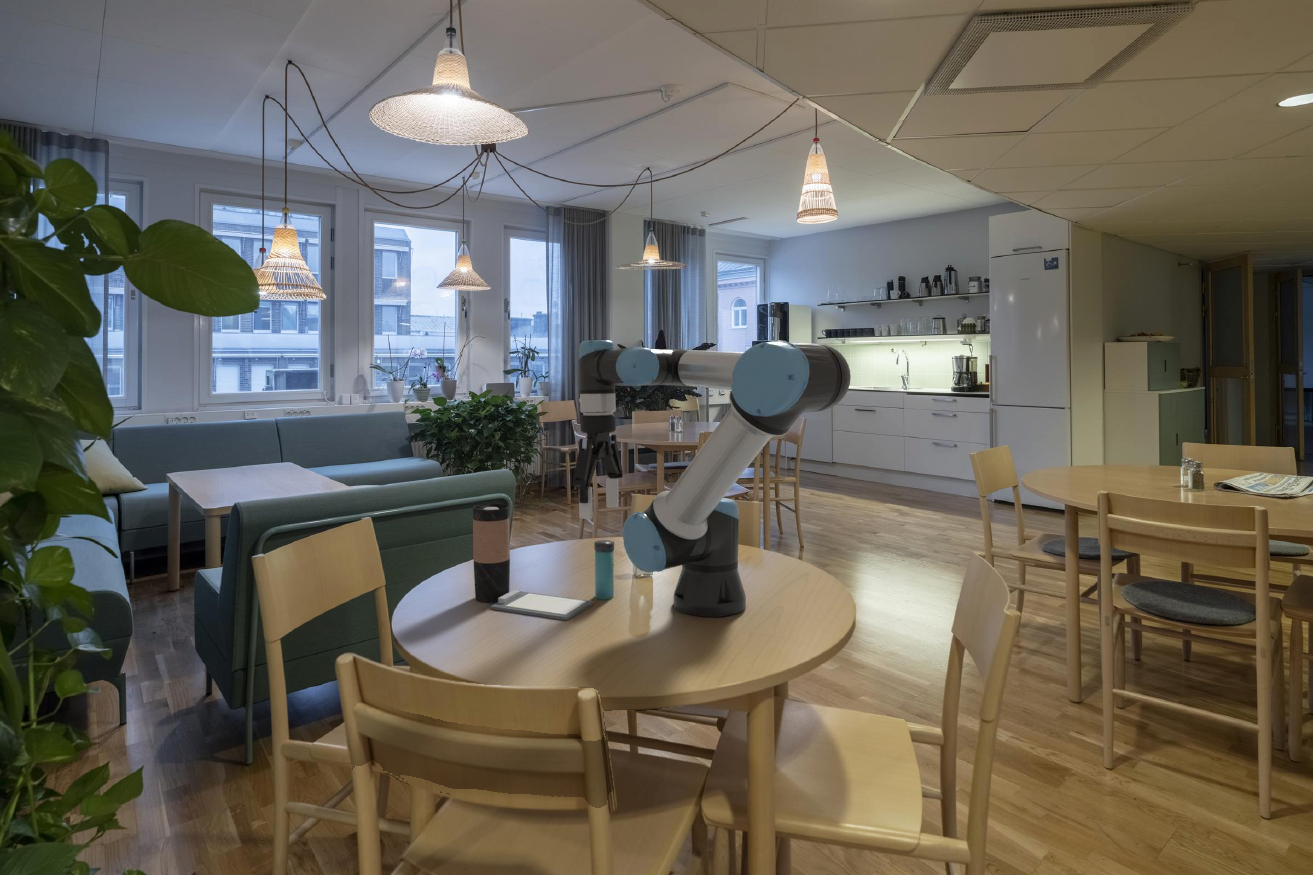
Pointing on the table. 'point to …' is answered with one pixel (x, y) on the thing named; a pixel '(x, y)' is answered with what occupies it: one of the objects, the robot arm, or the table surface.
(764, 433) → the robot arm
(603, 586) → the marker
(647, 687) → the table surface
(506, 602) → the clipboard
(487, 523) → the travel mug
